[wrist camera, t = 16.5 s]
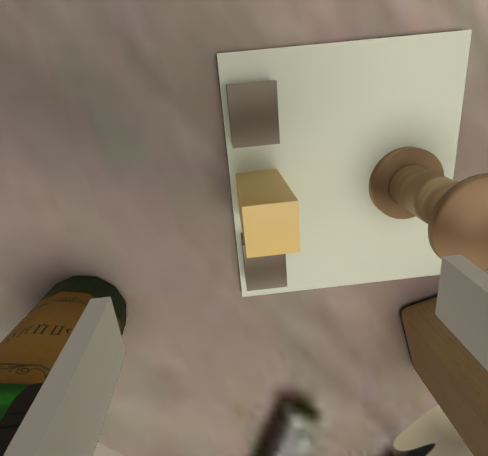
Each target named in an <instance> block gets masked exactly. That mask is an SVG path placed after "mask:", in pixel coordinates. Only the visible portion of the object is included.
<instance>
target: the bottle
mask: <svg viewBox="0 0 488 456" xmlns="http://www.w3.org/2000/svg"><path fill="white" fill-rule="evenodd" d="M102 297H111V300H112V304H113V307H114V311H115V314H116V318H117V322H118V325H119V329H120V333H121V336H122V334H123V331H124V327H125V323H126V304H125V302H124V301H123V299H122V298H121V296H120V295H119V293H118V292H117V290H116V289H115V288H113V287H112V286H110V285H108V284H106V283H104V282H102V281H101V280H99V279H97V278H86V277H73V278H70V279H68V280H66V281H63V282H61V283H59V284H56V285H55V286H54V287H53V288H52V289H51V290H50V291H49V292H48V293H47V295H46V296H45V297H44V298H43V299H42V300H41V301H40V302H39V303H38V304H37V305H36V306H35V307H34V308H33V309H32V310H31V311H30V312H29V314H28V315H27V316H26V317H25V318H24V319H23V320H22V321H21V322H20V323H19V324H18V325H17V326H16V327H15V328H14V329H13V330H12V331H11V333H10V334H9V335H8V336H7V337H6V338H5V339H4V340H3V341H2V342H1V343H0V420H1V419H2V418H3V417H4V414H5V412H6V411H7V409H8V408H9V406H10V404H11V403H12V401H13V400H14V398H15V397H16V396H17V395H18V394H20V393H21V392H22V391H23V390H24V389H25V388H26V387H27V386H28V385H29V384H36V383H44V382H45V380H46V378H47V376H48V374H49V373H50V371H51V369H52V367H53V365H54V364H55V362H56V360H57V358H58V356H59V355H60V353H61V351H62V349H63V347H64V346H65V344H66V342H67V340H68V339H69V337H70V335H71V333H72V331H73V330H74V328H75V326H76V324H77V322H78V321H79V319H80V317H81V315H82V313H83V312H84V310H85V308H86V306H87V304H88V303H89V301H90V299H94V298H102Z"/></svg>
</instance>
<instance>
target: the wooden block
mask: <svg viewBox="0 0 488 456" xmlns="http://www.w3.org/2000/svg"><path fill="white" fill-rule="evenodd" d="M436 302H437V297H434V298H431V299H428V300H425V301H423V302H420V303H417V304H414V305H411V306H408V307H406V308H404V309H403V310H402V321H403V325H404V329H405V333H406V338H407V342H408V346H409V350H410V354H411V358H412V363H413V367H414V369H415V371H416V372H417V373H418V375H419V376H420V378H421V379H422V381H423V382H424V384H425V385H426V387H427V388H428V390H429V391H430V392H431V394H432V395H433V397H434V398H435V400H436V401H437V403H438V404H439V406H440V407H441V408H442V410H443V411H444V413H445V414H446V416H447V417H448V419H449V420H450V422H451V423H452V425H453V426H454V427H455V429H456V430H457V432H458V433H459V435H460V436H461V438H462V439H463V441H464V442H465V444H466V445H467V446H468V448H469V449H470V451H471V452H472V454H473V455H474V456H488V371H487V370H486V369H485V368H484V367H483V366H482V365H481V364H480V362H479V361H478V360H477V359H476V358H475V357H474V356H473V355H472V354H471V353H470V352H469V351H468V349H467V348H466V347H465V346H464V345H463V344H462V343H461V342H460V341H459V340H458V339H457V338H456V336H455V335H454V334H453V333H452V332H451V331H450V330H449V329H448V328H447V327H446V326H445V325H444V323H443V322H442V321H441V320H440V319H439V318H438V317H437V316H436V315H435V310H436Z"/></svg>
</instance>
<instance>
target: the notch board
mask: <svg viewBox="0 0 488 456" xmlns="http://www.w3.org/2000/svg"><path fill="white" fill-rule="evenodd" d="M226 91H227V101H228V111H229V121H230V131H231V141H232V147H233V148H242V147H252V146H262V145H272V144H280V134H279V115H278V95H277V80H269V81H259V82H249V83H238V84H228V85H226ZM241 241H242V251H243V261H244V271H245V280H246V287H247V291H253V290H262V289H271V288H280V287H287V270H286V254H280V255H271V256H262V257H253V258H247V257H246V251H245V245H244V239H243V233H241Z"/></svg>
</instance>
